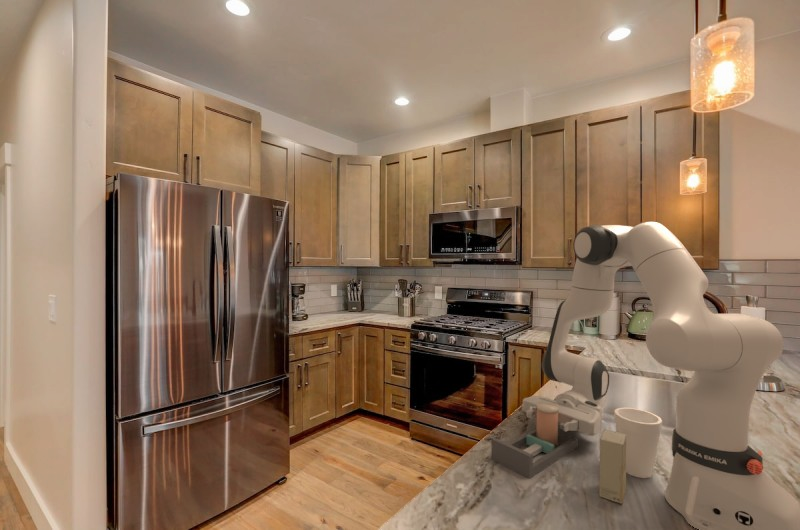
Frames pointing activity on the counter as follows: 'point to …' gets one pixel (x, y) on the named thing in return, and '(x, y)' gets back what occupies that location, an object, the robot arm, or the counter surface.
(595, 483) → the counter surface
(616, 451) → the skincare box
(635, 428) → the foam cup
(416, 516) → the counter surface
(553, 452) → the pusher lane
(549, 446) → the pusher plate
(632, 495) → the counter surface
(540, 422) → the terracotta jar
